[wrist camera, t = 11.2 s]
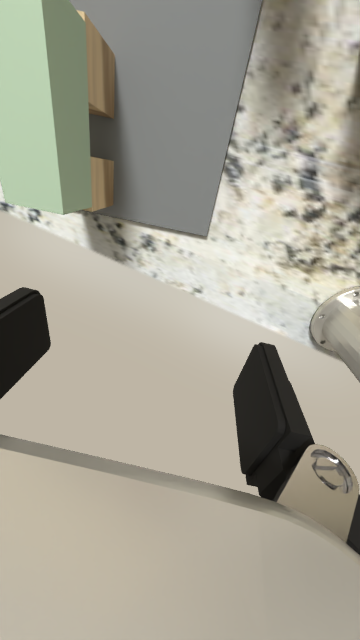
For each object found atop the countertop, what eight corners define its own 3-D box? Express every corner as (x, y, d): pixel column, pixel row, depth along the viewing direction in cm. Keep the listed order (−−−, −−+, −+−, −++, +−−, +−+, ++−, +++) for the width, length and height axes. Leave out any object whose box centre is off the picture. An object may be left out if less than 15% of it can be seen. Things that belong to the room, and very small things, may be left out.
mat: (290, -121, 17) (292, -130, 17) (206, 235, 32) (206, 236, 31) (7, -192, 17) (1, -204, 16) (55, 204, 31) (53, 204, 31)
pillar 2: (113, 161, 28) (89, 156, 22) (113, 205, 30) (92, 211, 24) (73, 152, 27) (39, 145, 22) (77, 197, 30) (47, 202, 24)
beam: (85, 22, 17) (37, -42, 12) (92, 207, 24) (63, 214, 19) (20, 7, 17) (-56, -65, 12) (46, 197, 24) (5, 202, 19)
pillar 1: (114, 54, 23) (84, 12, 17) (114, 118, 25) (87, 101, 20) (66, 43, 22) (18, -4, 17) (70, 109, 25) (31, 88, 19)
